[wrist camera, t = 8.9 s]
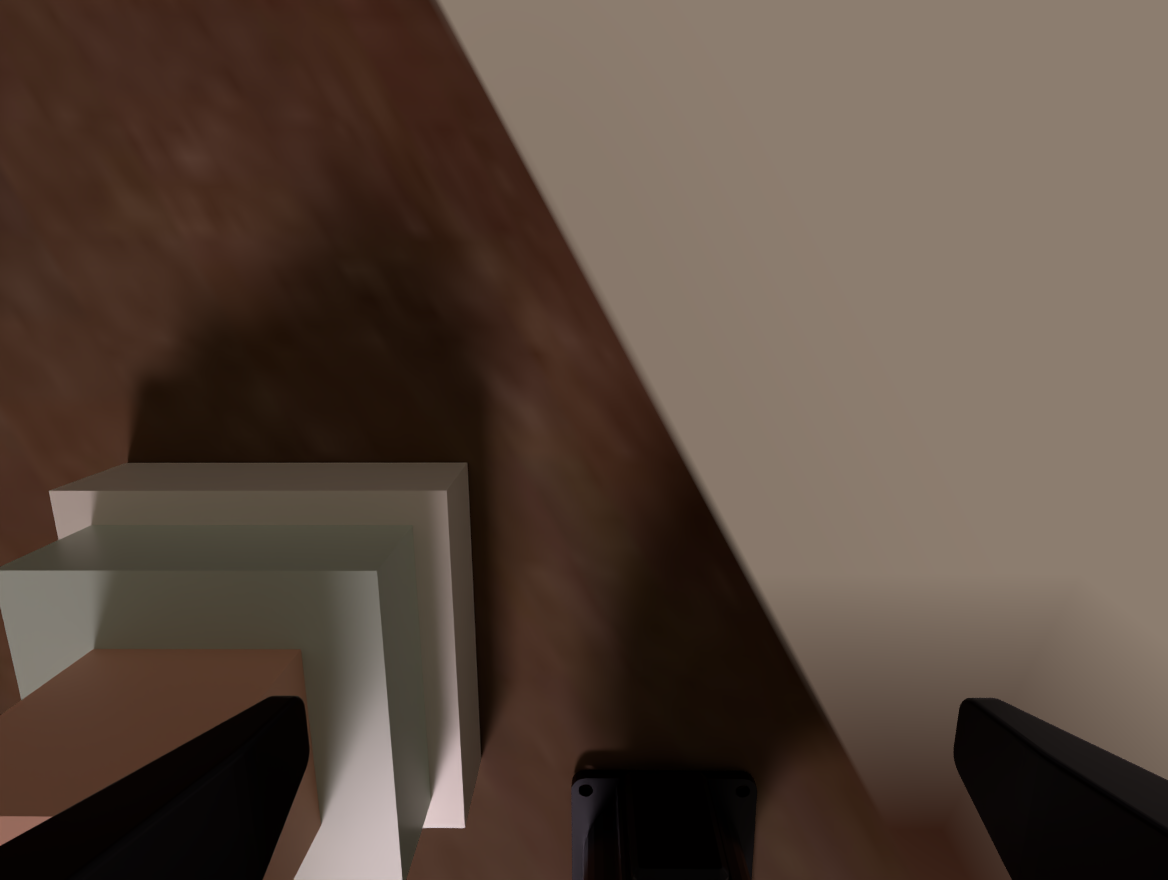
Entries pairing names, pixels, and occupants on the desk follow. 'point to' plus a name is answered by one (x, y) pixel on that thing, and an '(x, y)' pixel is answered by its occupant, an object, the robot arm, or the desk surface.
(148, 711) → the terracotta block
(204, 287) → the desk surface
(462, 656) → the tower base
